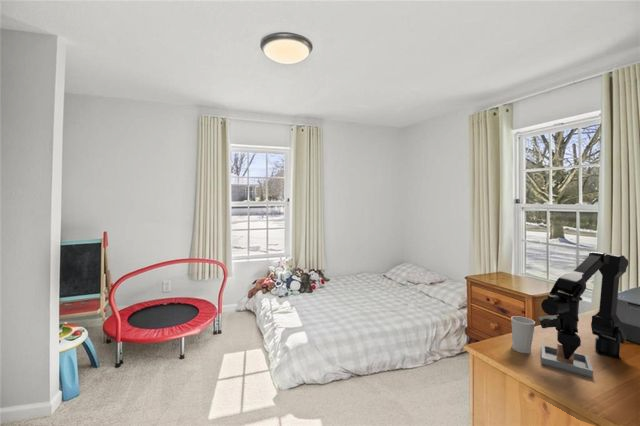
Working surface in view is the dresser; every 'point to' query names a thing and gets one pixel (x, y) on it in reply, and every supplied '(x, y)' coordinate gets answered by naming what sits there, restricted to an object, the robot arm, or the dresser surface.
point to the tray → (579, 364)
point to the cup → (522, 333)
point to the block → (561, 355)
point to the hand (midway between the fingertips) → (565, 353)
